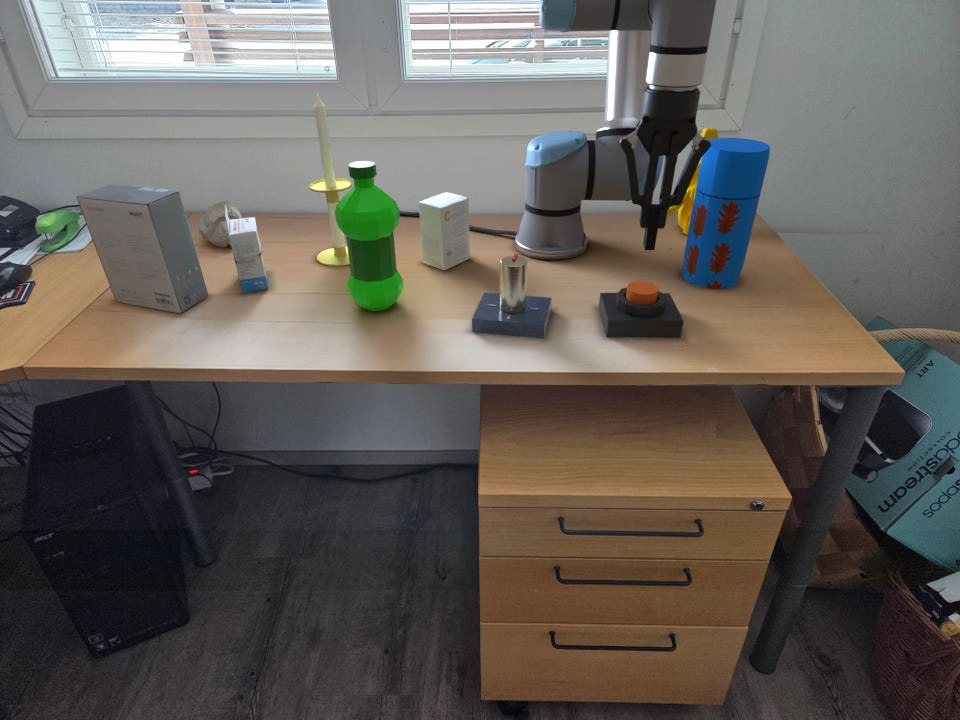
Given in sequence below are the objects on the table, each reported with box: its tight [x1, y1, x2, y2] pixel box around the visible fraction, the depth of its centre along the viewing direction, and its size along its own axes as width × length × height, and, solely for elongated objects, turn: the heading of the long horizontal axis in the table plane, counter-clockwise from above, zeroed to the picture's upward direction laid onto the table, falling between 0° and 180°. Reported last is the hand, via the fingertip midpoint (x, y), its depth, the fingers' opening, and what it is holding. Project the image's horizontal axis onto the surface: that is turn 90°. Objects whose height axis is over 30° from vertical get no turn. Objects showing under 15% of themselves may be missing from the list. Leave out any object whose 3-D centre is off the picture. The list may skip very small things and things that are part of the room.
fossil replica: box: [198, 200, 243, 248], centre depth 135 cm, size 12×8×10 cm
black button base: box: [598, 286, 685, 339], centre depth 103 cm, size 12×10×5 cm
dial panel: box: [471, 291, 552, 339], centre depth 105 cm, size 12×10×3 cm
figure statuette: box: [666, 127, 719, 236], centre depth 134 cm, size 18×8×22 cm, turn 86°
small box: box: [418, 191, 471, 271], centre depth 123 cm, size 8×6×13 cm
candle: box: [308, 90, 353, 267], centre depth 121 cm, size 10×10×32 cm
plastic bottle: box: [335, 160, 404, 312], centre depth 104 cm, size 10×10×25 cm
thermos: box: [681, 137, 771, 290], centre depth 112 cm, size 11×11×25 cm
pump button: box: [626, 280, 660, 304], centre depth 101 cm, size 5×5×2 cm
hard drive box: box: [76, 184, 209, 314], centre depth 108 cm, size 16×8×20 cm, turn 71°
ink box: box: [225, 205, 269, 294], centre depth 115 cm, size 8×5×15 cm, turn 20°
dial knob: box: [499, 253, 528, 313], centre depth 101 cm, size 4×4×9 cm
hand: (648, 246), depth 97 cm, fingers closed
